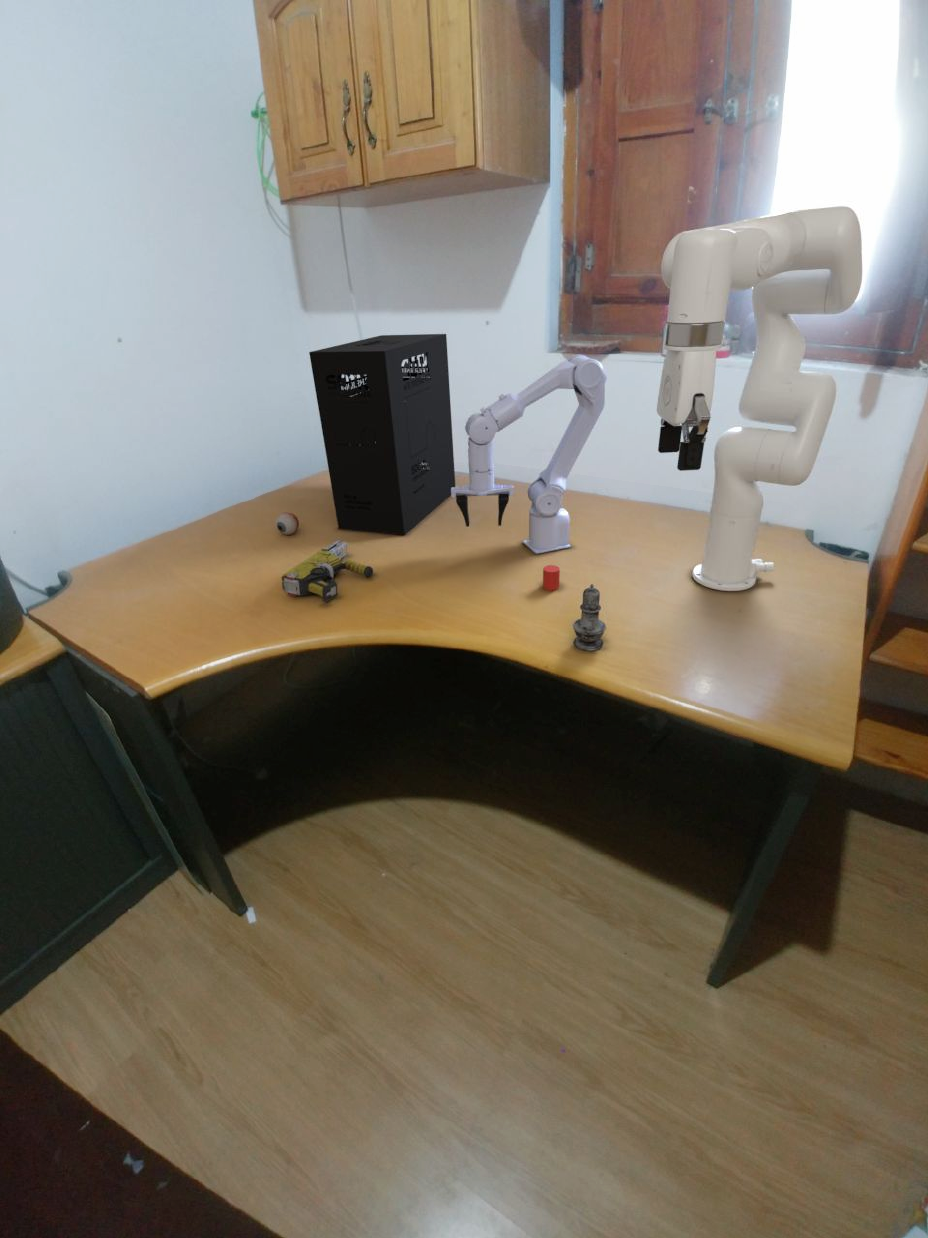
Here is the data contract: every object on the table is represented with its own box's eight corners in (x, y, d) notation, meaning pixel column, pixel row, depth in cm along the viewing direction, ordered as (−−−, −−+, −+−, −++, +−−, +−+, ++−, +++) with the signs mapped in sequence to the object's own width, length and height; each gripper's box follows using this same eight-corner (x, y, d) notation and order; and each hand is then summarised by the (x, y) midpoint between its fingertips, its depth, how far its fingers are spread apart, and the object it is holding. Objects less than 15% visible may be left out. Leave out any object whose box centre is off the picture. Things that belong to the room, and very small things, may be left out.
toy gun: (389, 548, 145) (334, 537, 149) (339, 588, 125) (277, 575, 129) (389, 566, 147) (335, 555, 151) (340, 608, 127) (279, 595, 131)
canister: (539, 587, 130) (540, 569, 128) (548, 581, 132) (549, 563, 130) (553, 591, 128) (553, 573, 126) (562, 585, 130) (562, 567, 128)
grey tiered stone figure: (604, 652, 107) (609, 592, 101) (571, 650, 108) (573, 591, 102) (604, 635, 112) (609, 577, 106) (572, 633, 113) (575, 575, 107)
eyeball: (273, 537, 164) (268, 516, 161) (287, 528, 169) (282, 508, 166) (291, 539, 161) (286, 518, 158) (305, 530, 166) (301, 510, 163)
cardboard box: (397, 486, 197) (381, 335, 174) (455, 490, 190) (446, 333, 168) (338, 528, 167) (309, 351, 144) (404, 535, 160) (384, 350, 137)
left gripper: (448, 475, 135) (452, 531, 142) (513, 472, 134) (514, 529, 141) (451, 466, 141) (454, 520, 148) (513, 463, 140) (513, 519, 147)
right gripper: (649, 332, 90) (638, 447, 99) (686, 344, 75) (670, 478, 84) (699, 329, 90) (684, 444, 99) (747, 341, 75) (724, 476, 84)
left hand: (483, 524), depth 145 cm, fingers open, 7 cm apart
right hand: (678, 460), depth 91 cm, fingers open, 9 cm apart
